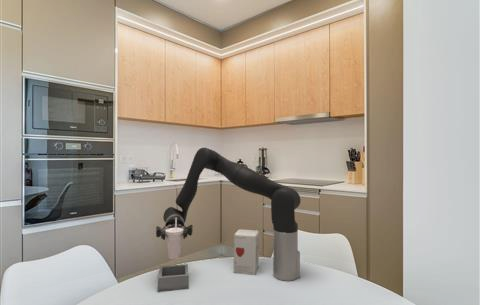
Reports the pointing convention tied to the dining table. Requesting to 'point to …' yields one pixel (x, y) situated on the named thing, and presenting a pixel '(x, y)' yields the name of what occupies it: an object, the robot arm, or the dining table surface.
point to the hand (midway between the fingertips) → (174, 236)
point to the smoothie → (174, 241)
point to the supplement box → (246, 251)
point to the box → (173, 278)
